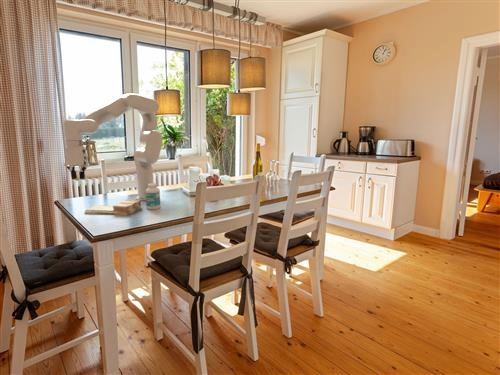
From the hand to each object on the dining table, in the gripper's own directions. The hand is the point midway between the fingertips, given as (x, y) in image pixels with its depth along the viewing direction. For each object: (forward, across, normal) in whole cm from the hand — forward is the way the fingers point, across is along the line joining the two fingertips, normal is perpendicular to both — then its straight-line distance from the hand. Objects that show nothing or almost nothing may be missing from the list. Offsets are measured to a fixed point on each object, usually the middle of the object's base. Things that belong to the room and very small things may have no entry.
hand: (78, 178), depth 162 cm
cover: (+18, -12, 0) cm, 22 cm away
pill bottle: (+17, -37, -8) cm, 42 cm away
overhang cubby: (+17, -18, 0) cm, 25 cm away
